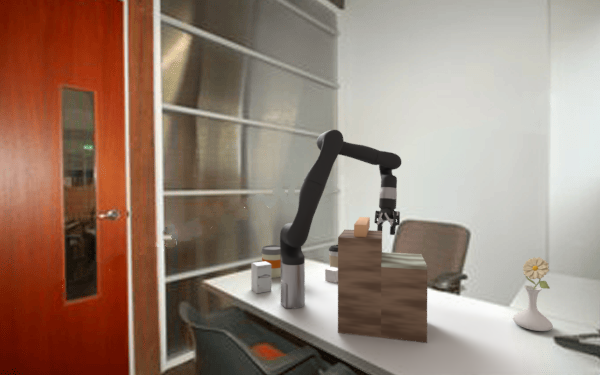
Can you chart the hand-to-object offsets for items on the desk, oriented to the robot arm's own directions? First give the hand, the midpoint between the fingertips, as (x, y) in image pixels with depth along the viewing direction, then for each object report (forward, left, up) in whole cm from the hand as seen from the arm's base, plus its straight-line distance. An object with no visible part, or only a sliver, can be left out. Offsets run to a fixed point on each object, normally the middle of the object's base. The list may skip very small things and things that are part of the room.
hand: (385, 234), depth 150 cm
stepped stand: (-21, -28, -27) cm, 44 cm away
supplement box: (-51, +24, -27) cm, 63 cm away
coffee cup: (-5, +38, -27) cm, 47 cm away
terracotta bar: (-23, -19, +5) cm, 31 cm away
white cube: (-13, +26, -27) cm, 40 cm away
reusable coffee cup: (-39, +46, -27) cm, 66 cm away
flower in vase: (+27, -48, -27) cm, 61 cm away
